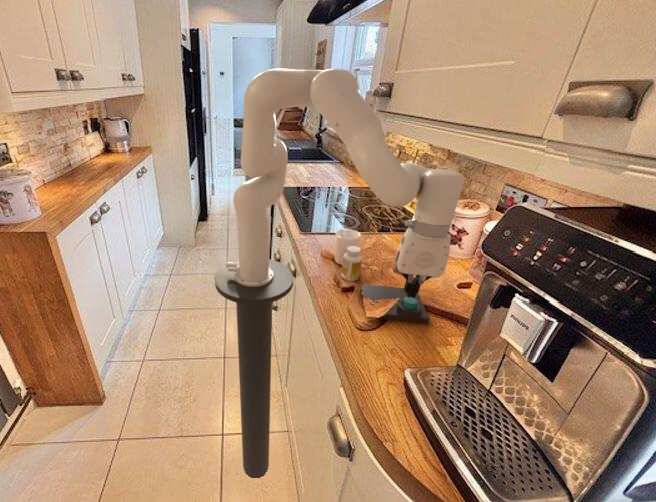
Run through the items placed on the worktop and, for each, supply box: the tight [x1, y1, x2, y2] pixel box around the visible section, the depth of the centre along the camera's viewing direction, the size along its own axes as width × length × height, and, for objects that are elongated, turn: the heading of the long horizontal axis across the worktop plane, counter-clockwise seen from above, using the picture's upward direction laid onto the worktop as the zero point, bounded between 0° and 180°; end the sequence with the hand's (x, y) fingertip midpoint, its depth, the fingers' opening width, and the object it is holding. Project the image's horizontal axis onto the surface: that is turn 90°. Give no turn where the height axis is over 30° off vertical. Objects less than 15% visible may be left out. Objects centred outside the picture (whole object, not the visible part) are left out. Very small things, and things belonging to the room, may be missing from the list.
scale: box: [360, 284, 430, 325], centre depth 87 cm, size 15×14×4 cm
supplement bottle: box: [341, 246, 363, 282], centre depth 98 cm, size 5×5×10 cm
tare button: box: [403, 297, 417, 309], centre depth 82 cm, size 3×3×2 cm
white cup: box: [333, 228, 362, 266], centre depth 107 cm, size 8×8×10 cm
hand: (409, 294), depth 81 cm, fingers closed
